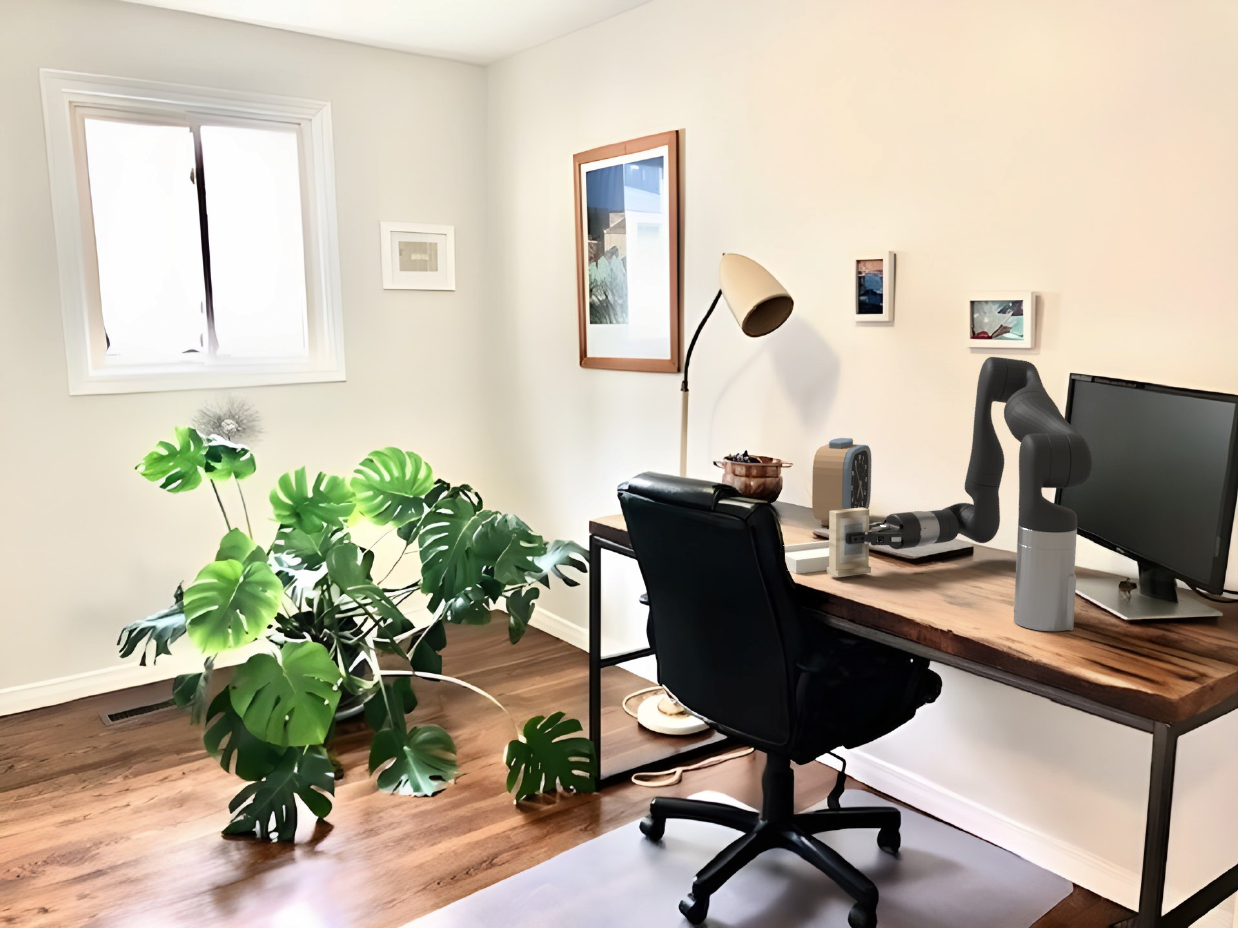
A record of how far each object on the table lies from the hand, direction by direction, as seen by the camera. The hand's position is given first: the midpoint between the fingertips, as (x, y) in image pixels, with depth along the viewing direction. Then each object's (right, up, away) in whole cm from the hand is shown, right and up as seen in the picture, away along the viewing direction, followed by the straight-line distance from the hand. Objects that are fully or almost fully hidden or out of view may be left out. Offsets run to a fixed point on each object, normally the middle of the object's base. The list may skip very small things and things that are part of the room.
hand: (842, 537), depth 196 cm
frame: (+2, -8, +2) cm, 8 cm away
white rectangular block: (-3, -7, +11) cm, 14 cm away
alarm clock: (+13, 0, +55) cm, 56 cm away
